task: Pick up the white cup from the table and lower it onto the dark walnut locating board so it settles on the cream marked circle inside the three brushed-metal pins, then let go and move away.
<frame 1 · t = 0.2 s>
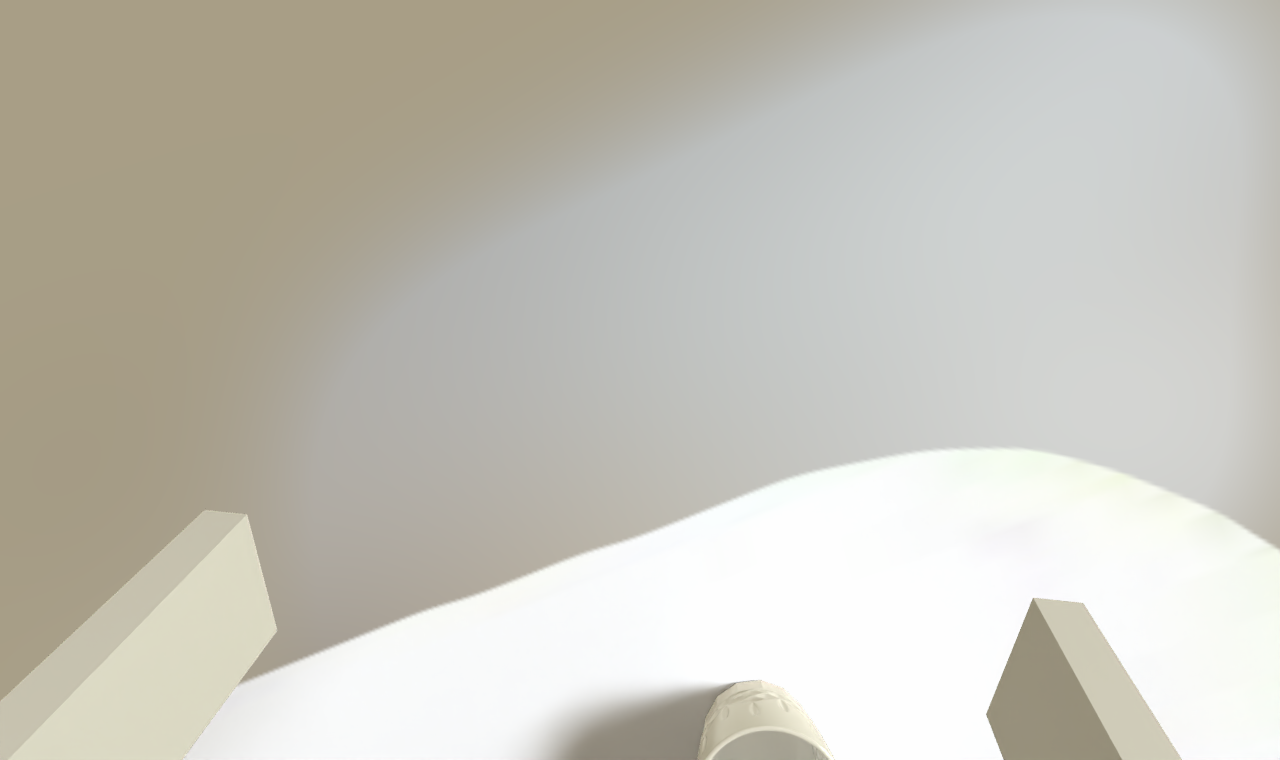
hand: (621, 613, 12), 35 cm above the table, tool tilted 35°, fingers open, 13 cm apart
white cup: (756, 733, 44), on the table
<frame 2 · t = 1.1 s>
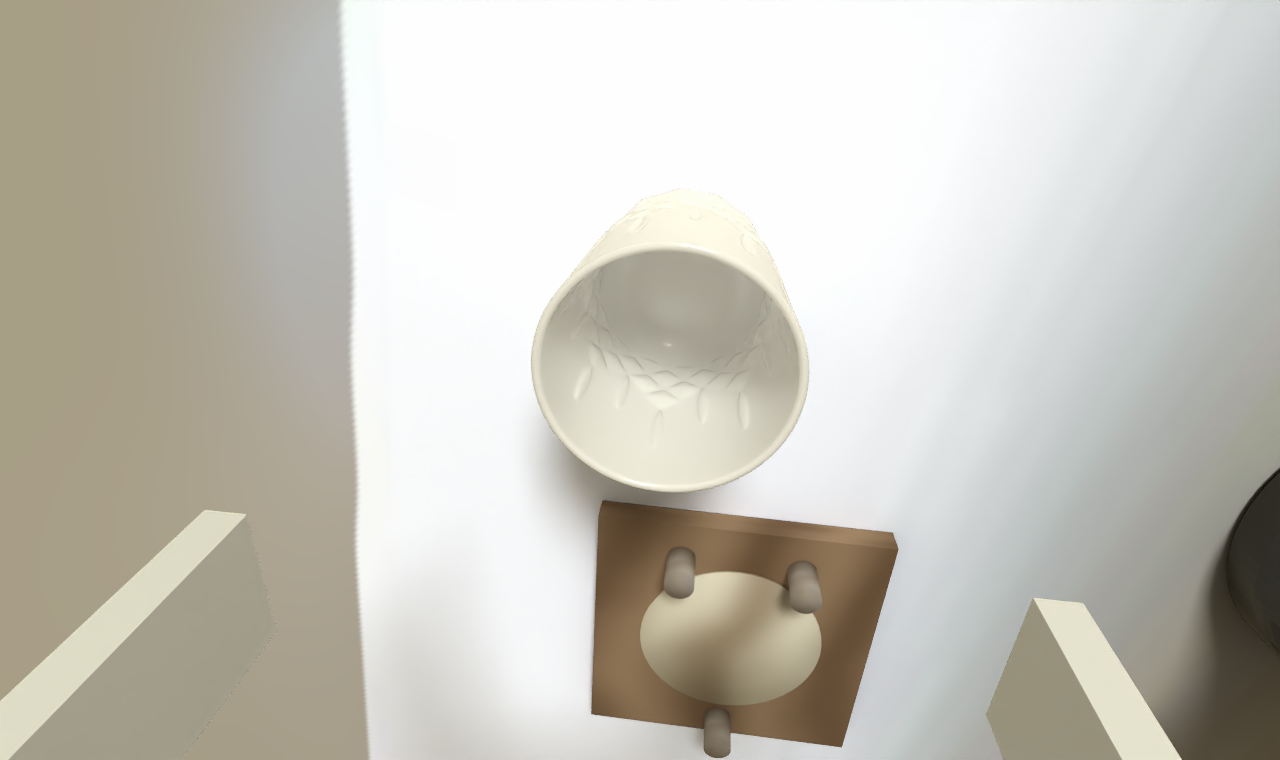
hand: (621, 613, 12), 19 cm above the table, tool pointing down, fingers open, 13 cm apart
white cup: (684, 269, 29), on the table
pin board: (729, 622, 37), on the table
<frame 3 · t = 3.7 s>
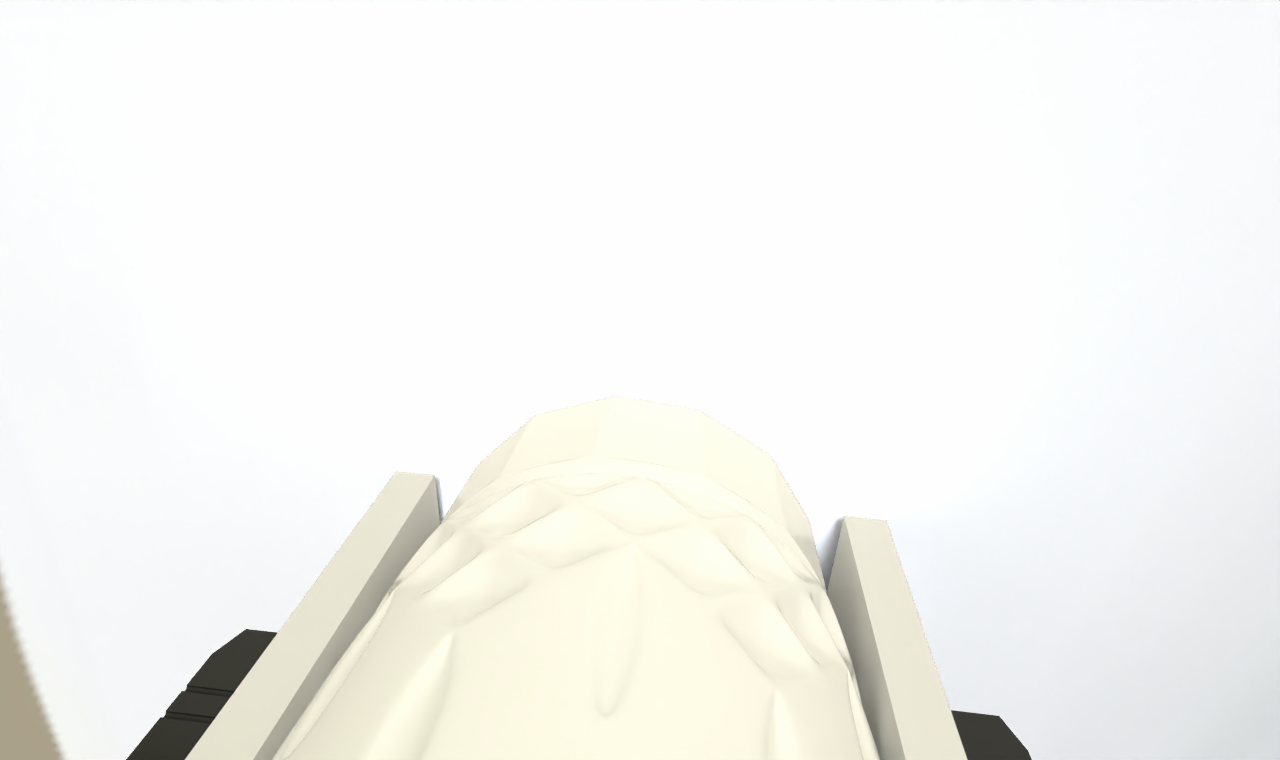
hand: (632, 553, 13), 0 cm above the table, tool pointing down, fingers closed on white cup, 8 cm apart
white cup: (635, 538, 14), on the table, touching gripper
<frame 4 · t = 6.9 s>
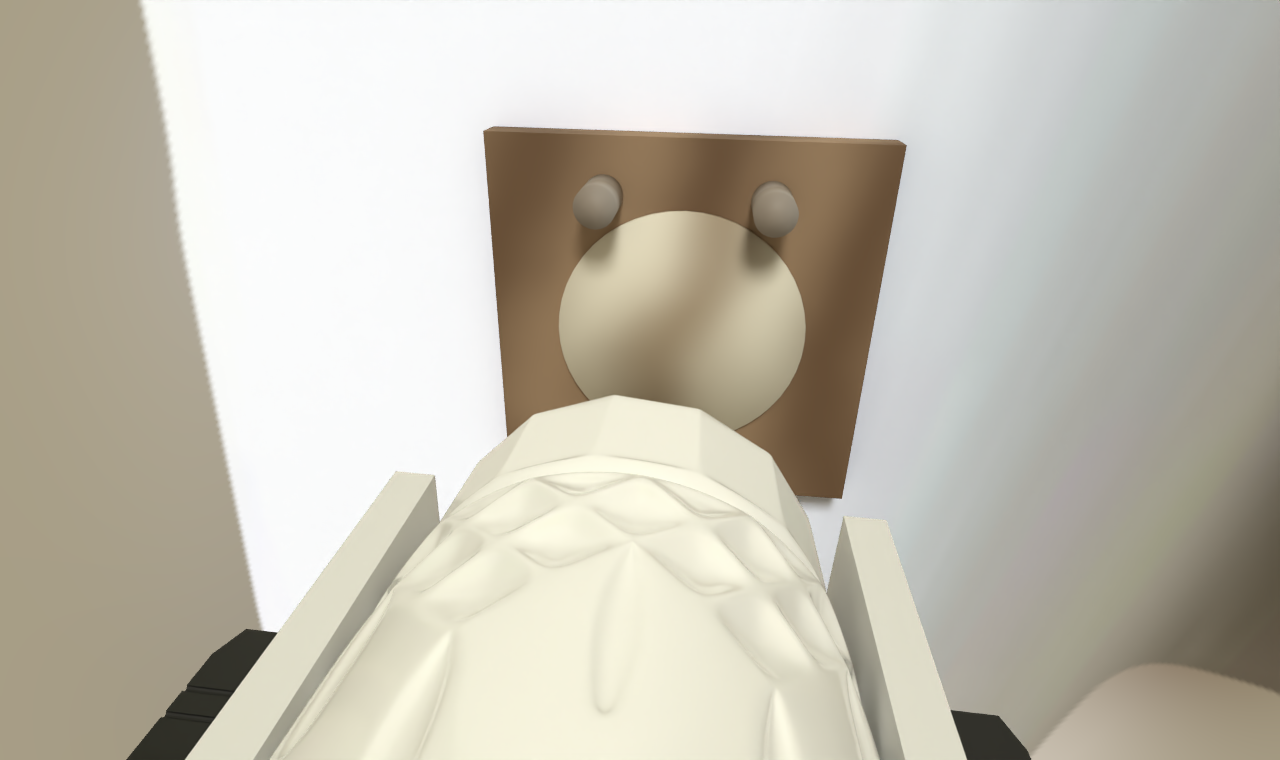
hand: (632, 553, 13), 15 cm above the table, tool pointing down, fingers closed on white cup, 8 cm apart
white cup: (634, 536, 14), point 15 cm above the table, touching gripper
pin board: (681, 321, 27), on the table
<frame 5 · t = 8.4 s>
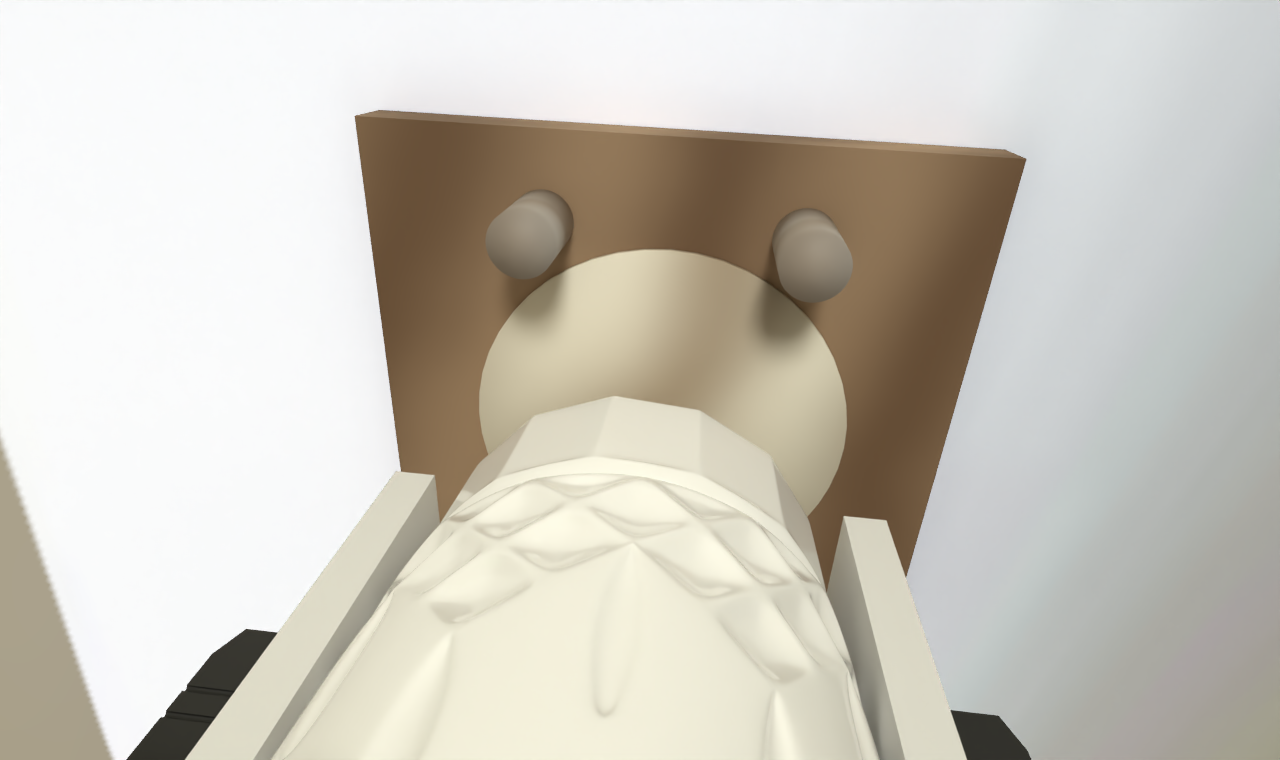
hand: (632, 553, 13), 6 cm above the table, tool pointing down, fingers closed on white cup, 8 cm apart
white cup: (634, 538, 14), point 6 cm above the table, touching gripper
pin board: (662, 403, 19), on the table
when the fingers open (3 cm above the table, at t = 9.8 s): white cup drops 1 cm, resting on pin board.
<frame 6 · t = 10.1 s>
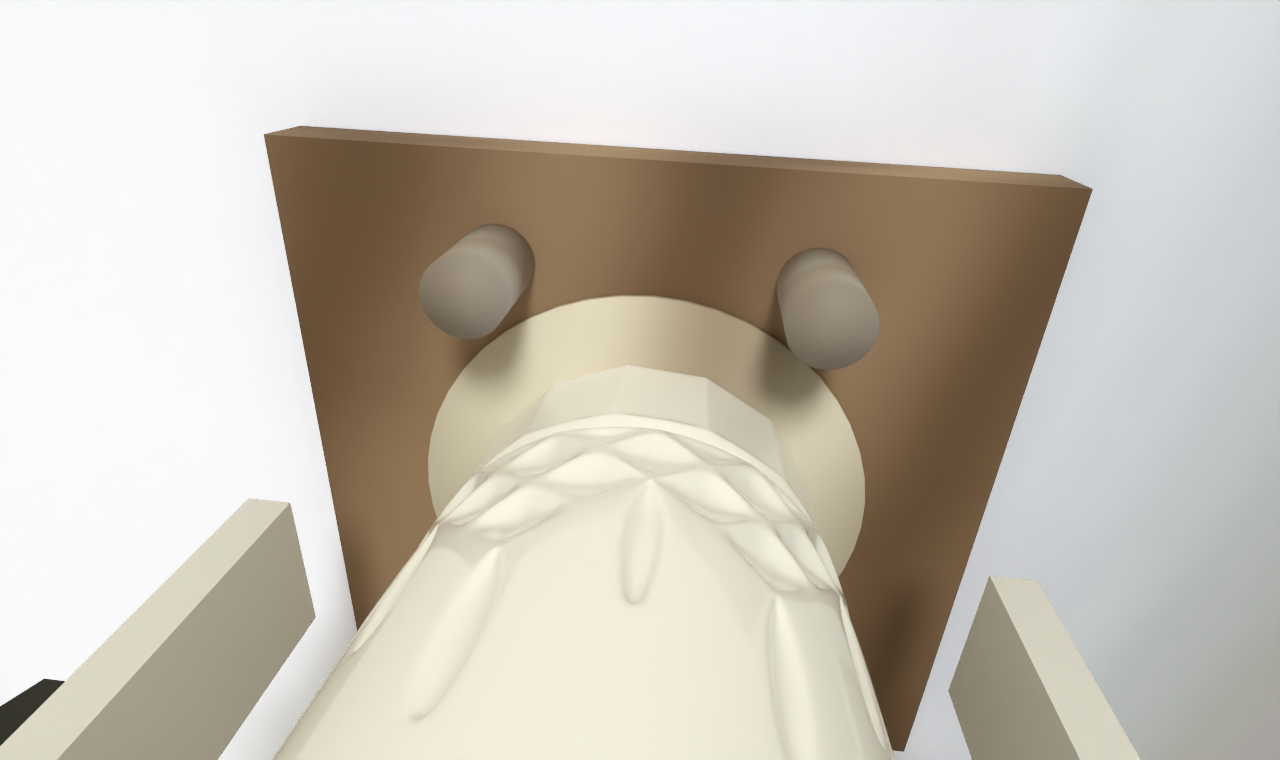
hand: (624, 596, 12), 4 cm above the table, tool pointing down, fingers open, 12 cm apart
white cup: (644, 500, 15), point 1 cm above the table, touching pin board
pin board: (646, 467, 16), on the table
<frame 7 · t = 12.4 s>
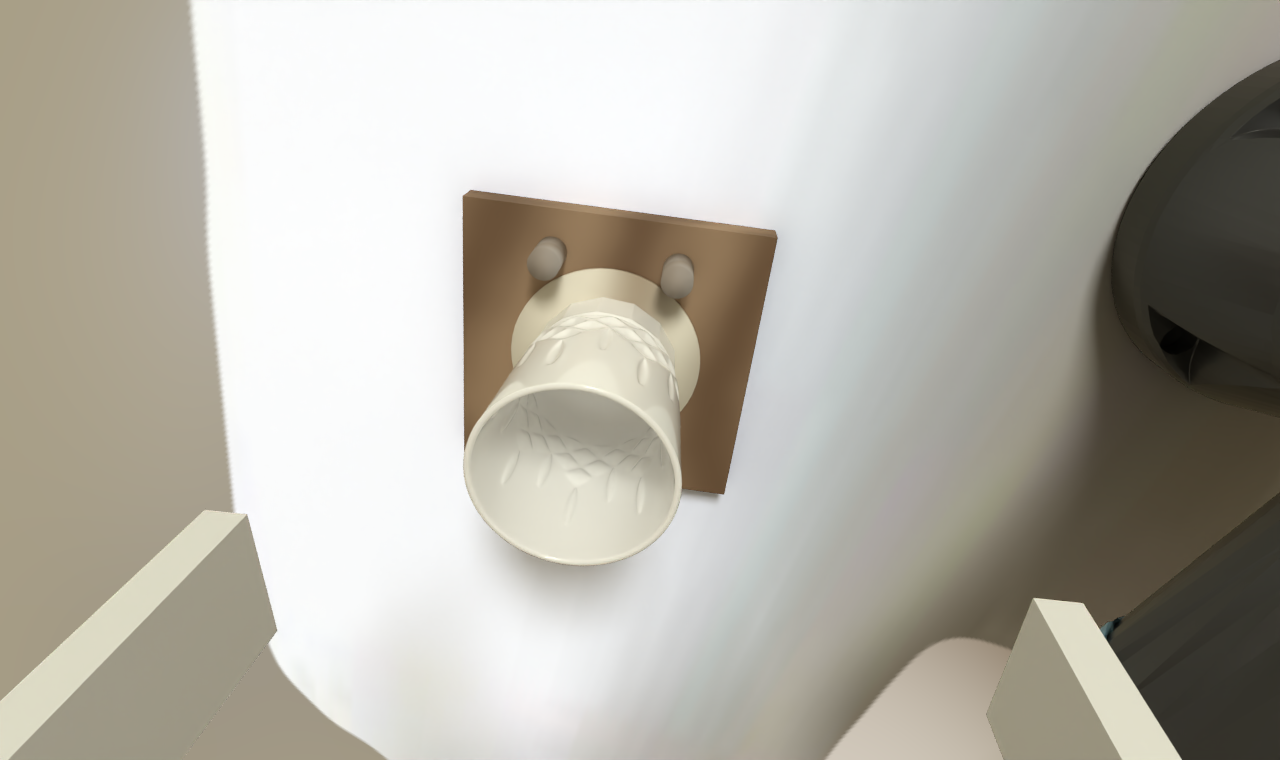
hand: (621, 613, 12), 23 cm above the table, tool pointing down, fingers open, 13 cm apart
white cup: (606, 359, 34), point 1 cm above the table, touching pin board
pin board: (608, 348, 35), on the table
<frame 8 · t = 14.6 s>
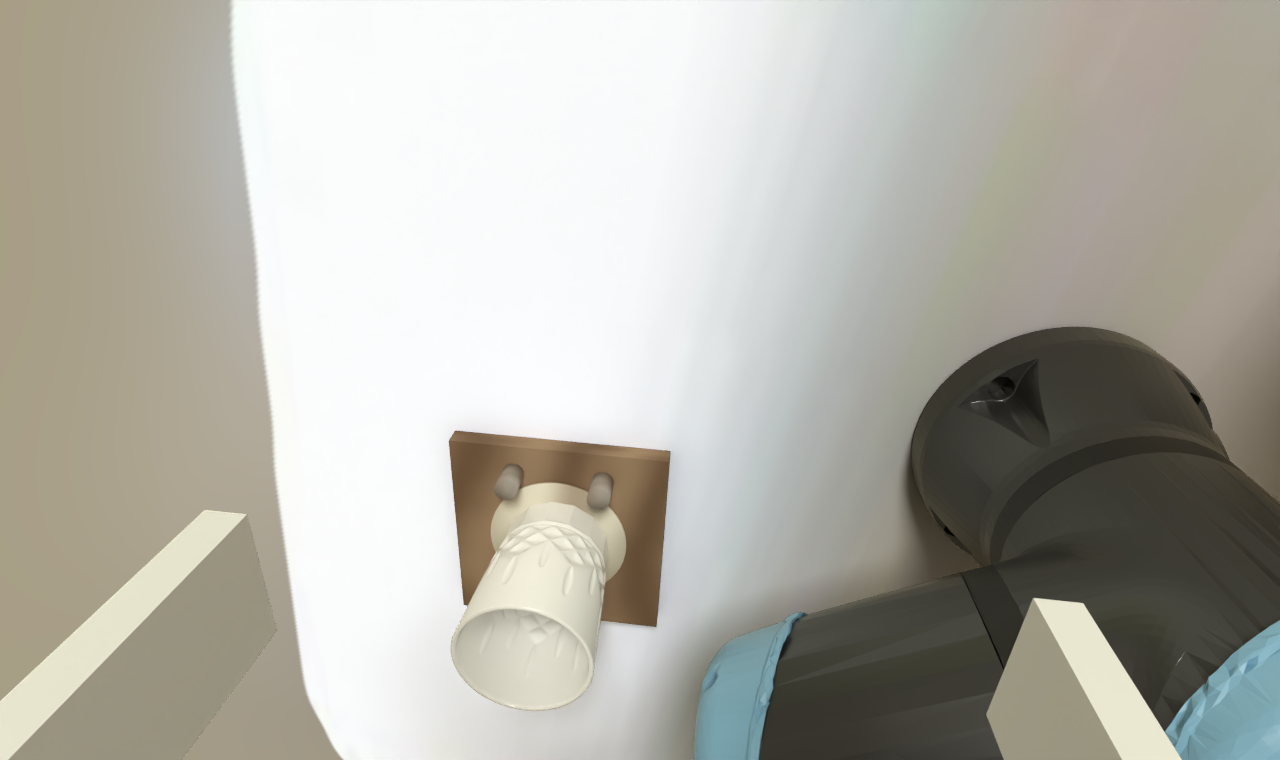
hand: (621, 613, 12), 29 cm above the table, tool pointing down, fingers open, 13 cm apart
white cup: (559, 539, 47), point 1 cm above the table, touching pin board
pin board: (562, 527, 48), on the table
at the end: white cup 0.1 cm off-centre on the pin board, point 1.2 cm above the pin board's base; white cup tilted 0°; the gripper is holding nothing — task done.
